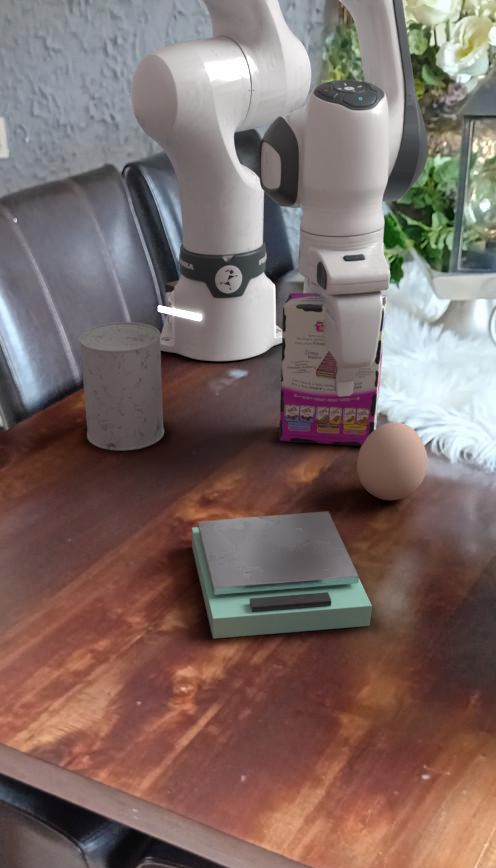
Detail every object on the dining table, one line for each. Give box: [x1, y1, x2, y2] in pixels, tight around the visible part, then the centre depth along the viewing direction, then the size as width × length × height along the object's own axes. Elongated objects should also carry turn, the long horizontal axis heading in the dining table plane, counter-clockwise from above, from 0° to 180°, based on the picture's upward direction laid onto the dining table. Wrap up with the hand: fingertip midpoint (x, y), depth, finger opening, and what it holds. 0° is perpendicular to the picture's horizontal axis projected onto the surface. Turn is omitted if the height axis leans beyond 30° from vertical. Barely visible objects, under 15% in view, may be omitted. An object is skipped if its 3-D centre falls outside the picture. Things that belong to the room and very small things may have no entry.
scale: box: [191, 526, 373, 640], centre depth 94 cm, size 16×14×3 cm
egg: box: [356, 421, 428, 501], centre depth 105 cm, size 7×7×8 cm
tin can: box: [78, 321, 165, 452], centre depth 120 cm, size 10×10×12 cm
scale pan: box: [197, 510, 360, 595], centre depth 94 cm, size 12×13×1 cm
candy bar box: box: [278, 292, 388, 447], centre depth 116 cm, size 11×5×16 cm, turn 74°
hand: (333, 378), depth 116 cm, fingers open, 8 cm apart
